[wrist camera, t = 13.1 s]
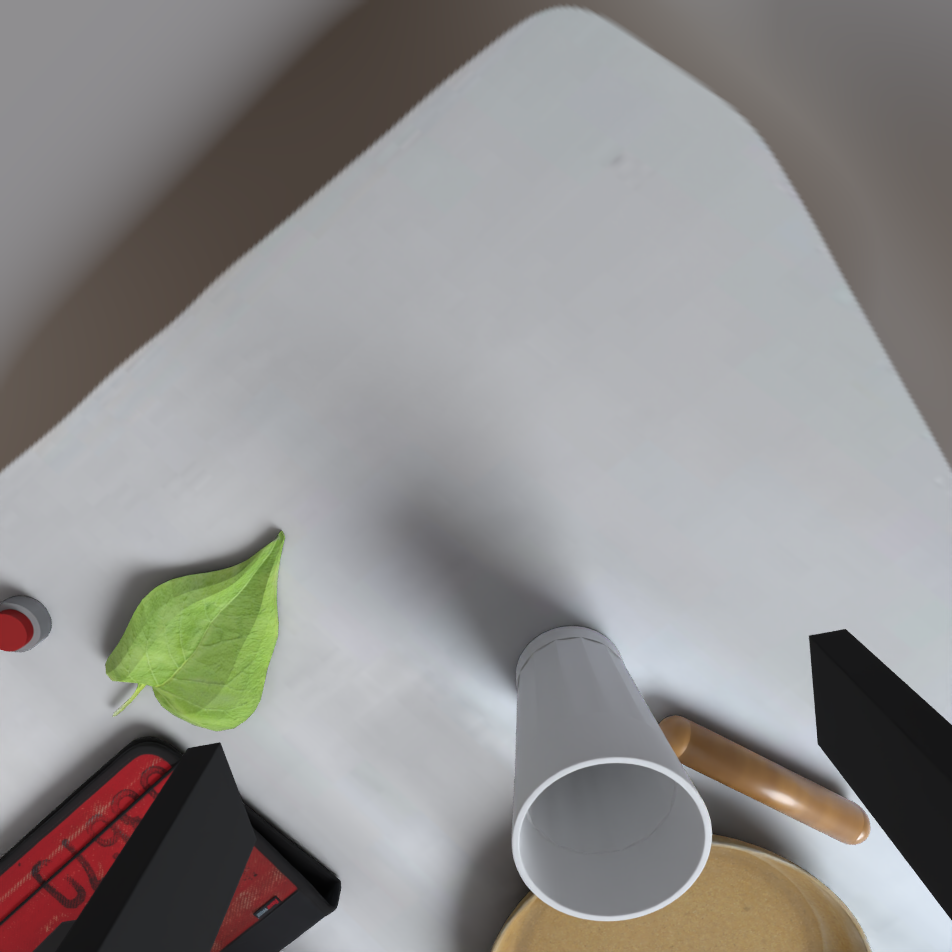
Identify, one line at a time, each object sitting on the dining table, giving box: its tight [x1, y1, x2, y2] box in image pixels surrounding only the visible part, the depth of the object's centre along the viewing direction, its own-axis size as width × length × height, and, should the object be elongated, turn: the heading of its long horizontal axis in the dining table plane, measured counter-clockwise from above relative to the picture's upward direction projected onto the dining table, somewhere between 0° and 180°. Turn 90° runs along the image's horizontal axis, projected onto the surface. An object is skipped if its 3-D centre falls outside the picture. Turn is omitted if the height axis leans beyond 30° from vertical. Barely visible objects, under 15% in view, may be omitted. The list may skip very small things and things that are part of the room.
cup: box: [511, 626, 712, 921], centre depth 31 cm, size 8×8×12 cm
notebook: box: [0, 738, 341, 952], centre depth 40 cm, size 16×2×21 cm
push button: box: [0, 596, 52, 652], centre depth 36 cm, size 3×3×2 cm
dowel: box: [659, 715, 870, 845], centre depth 37 cm, size 14×2×2 cm, turn 61°
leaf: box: [105, 531, 285, 731], centre depth 35 cm, size 9×16×2 cm, turn 133°
